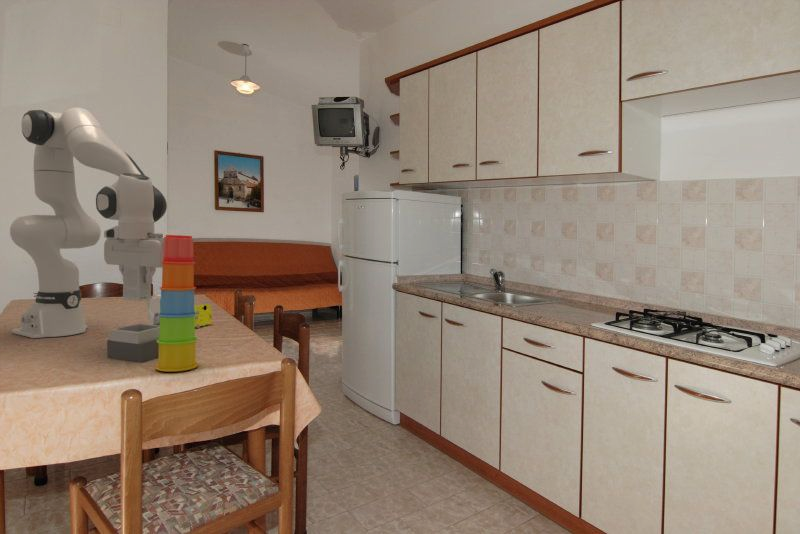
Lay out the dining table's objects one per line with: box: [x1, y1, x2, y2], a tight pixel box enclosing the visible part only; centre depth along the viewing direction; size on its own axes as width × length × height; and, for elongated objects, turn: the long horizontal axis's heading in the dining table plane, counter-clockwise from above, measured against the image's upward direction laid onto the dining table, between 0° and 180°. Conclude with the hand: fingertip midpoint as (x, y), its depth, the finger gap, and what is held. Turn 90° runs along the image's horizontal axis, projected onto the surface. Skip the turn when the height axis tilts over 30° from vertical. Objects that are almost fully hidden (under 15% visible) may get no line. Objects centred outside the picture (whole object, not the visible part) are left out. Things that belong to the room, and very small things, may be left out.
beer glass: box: [146, 295, 161, 326], centre depth 154 cm, size 7×7×15 cm
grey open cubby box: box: [106, 322, 160, 363], centre depth 142 cm, size 12×10×9 cm
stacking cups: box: [155, 234, 199, 373], centre depth 130 cm, size 10×10×35 cm
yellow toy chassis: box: [194, 303, 213, 329], centre depth 181 cm, size 16×6×8 cm, turn 156°
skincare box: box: [122, 257, 152, 302], centre depth 140 cm, size 6×4×12 cm
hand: (137, 282), depth 141 cm, fingers closed on skincare box, 6 cm apart
